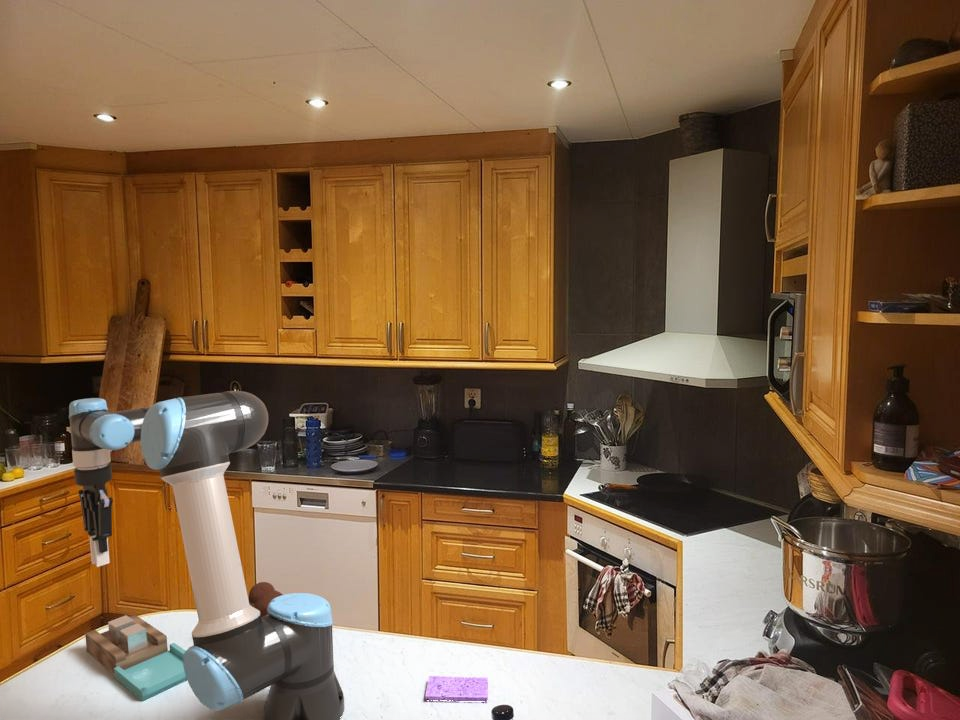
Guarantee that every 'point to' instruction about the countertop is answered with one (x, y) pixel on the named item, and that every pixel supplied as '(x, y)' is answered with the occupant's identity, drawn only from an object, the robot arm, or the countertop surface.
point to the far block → (118, 627)
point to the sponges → (457, 688)
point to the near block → (133, 638)
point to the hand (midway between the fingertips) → (100, 563)
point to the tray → (154, 674)
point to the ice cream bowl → (262, 596)
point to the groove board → (116, 656)
